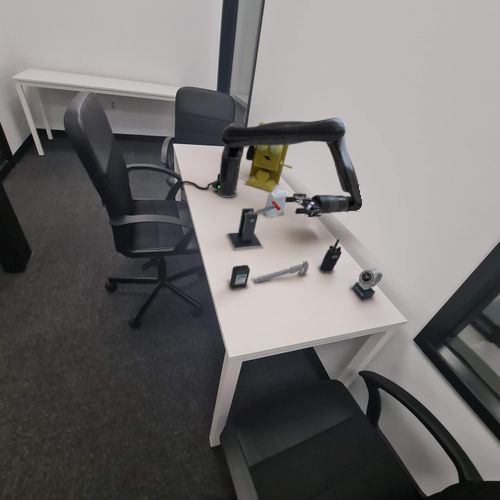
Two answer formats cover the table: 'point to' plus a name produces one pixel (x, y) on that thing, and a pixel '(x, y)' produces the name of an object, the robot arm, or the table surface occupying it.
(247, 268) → the ink cartridge
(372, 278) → the watch
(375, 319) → the table surface
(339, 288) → the table surface
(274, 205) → the lever
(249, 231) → the stand
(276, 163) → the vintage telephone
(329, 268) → the two-way radio
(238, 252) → the table surface
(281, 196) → the photo printer
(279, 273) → the caliper
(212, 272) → the table surface
